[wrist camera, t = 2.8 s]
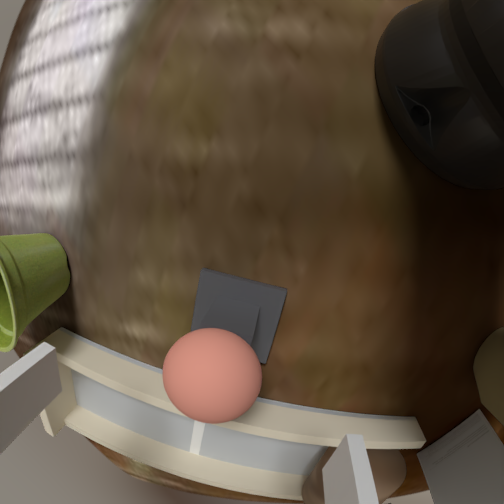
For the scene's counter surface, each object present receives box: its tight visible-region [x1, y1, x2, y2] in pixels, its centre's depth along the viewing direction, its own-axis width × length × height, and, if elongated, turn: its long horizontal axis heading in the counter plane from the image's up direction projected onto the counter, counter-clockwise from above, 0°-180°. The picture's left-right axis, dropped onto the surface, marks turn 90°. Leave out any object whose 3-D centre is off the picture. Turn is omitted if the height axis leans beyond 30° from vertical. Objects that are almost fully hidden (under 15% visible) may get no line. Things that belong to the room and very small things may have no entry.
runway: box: [23, 327, 426, 501], centre depth 21 cm, size 11×36×6 cm, turn 77°
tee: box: [191, 268, 287, 364], centre depth 19 cm, size 6×6×5 cm
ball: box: [162, 328, 262, 424], centre depth 14 cm, size 5×5×5 cm
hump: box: [302, 446, 407, 504], centre depth 19 cm, size 6×8×8 cm
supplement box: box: [417, 409, 504, 504], centre depth 15 cm, size 9×9×15 cm
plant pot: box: [0, 233, 70, 352], centre depth 18 cm, size 9×9×9 cm
